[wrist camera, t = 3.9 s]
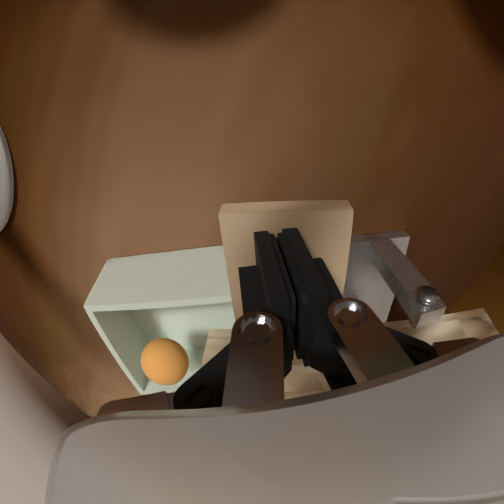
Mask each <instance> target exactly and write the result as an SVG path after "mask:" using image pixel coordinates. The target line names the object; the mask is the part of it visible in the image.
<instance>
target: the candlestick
mask: <svg viewBox="0 0 504 504" xmlns="http://www.w3.org/2000/svg"><path fill="white" fill-rule="evenodd" d="M13 197H14V176H13V167H12V160H11V155H10V151H9V147H8V144H7V141H6V138H5V135H4V133H3V130H2V128H1V126H0V231H1V230H2V229H3V228H4V227H5V225H6V223H7V221H8V219H9V216H10V213H11V210H12V205H13Z"/></svg>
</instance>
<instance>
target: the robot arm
mask: <svg viewBox="0 0 504 504" xmlns="http://www.w3.org/2000/svg"><path fill="white" fill-rule="evenodd" d="M277 243H278V244H277ZM254 245H255V257H256V265H254V266H245V267H238V271H239V280H240V290H241V299H242V308H243V315H242V316H241V317H239V318H238V319H237V320H236V321H235V323H234V325H233V328H232V333H231V340H230V343H229V344H227V345H226V346H225V347H224V348H223V349H222V350H221V351H220V352H219V353H217V354H216V355H215V356H214V357H213V358H212V359H211V360H209V361H208V362H207V363H206V364H205V365H204V366H203V367H201V368H200V369H199V370H198V371H197V372H196V373H194V374H193V375H192V376H191V377H190V378H189V379H187V380H186V381H185V382H184V383H183V384H182V385H181V386H180V387H179V388H178V389H177V390H176V391H175V392H171V393H167V392H166V391H161V392H157V393H152V394H147V395H142V396H137V397H132V398H126V399H120V400H114V401H110V402H108V403H105V404H104V405H103V406H102V407H101V408H100V409H99V411H98V413H97V416H95V417H92V418H89V419H86V420H84V421H81V422H79V423H77V424H75V425H73V426H71V427H70V428H69V429H68V430H66V431H65V433H64V434H63V435H62V437H61V438H60V440H59V442H58V444H57V447H56V449H55V452H54V455H53V459H52V462H51V466H50V471H49V476H48V482H47V489H46V497H45V504H504V333H503V334H497V335H493V336H490V337H486V338H484V339H478V338H473V337H471V338H464V339H456V340H449V341H440V342H433V344H432V345H430V344H428V343H426V342H425V341H422V340H420V339H417V338H415V337H412V336H409V335H407V334H404V333H402V332H399V331H397V330H394V329H392V328H389V327H386V326H385V325H384V324H383V323H382V322H381V320H380V319H379V318H378V316H377V315H376V314H375V313H374V311H373V310H372V309H371V308H370V307H369V306H368V305H367V304H366V303H365V302H363V301H361V300H358V299H355V298H343V296H342V294H341V292H340V291H339V289H338V287H337V285H336V283H335V281H334V279H333V277H332V275H331V273H330V272H329V270H328V268H327V266H326V264H325V262H324V260H323V259H322V258H321V257H318V258H312V256H311V254H310V252H309V250H308V248H307V246H306V244H305V242H304V240H303V238H302V236H301V234H300V232H299V231H298V229H297V227H295V228H286V229H282V233H278V234H277V241H276V238H275V235H274V234H269V232H268V231H259V232H254ZM294 350H295V354H296V358H297V360H299V359H302V361H303V364H304V367H308V366H310V367H311V368H313V369H315V370H317V371H318V376H319V379H320V381H321V383H322V385H323V387H324V389H325V391H326V392H322V393H317V394H312V395H307V396H301V397H296V398H290V399H284V379H285V377H286V376H287V375H288V374H289V373H290V372H291V370H292V361H293V357H294Z"/></svg>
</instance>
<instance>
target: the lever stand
mask: <svg viewBox="0 0 504 504" xmlns="http://www.w3.org/2000/svg"><path fill="white" fill-rule="evenodd" d="M409 238H410V236H409V235H408V234H407V233H406V232H405V231H404V230H403V231H393V232H384V233H374V234H364V235H354V236H351V241H350V250H349V257H348V265H347V272H346V279H345V285H344V291H343V298H355V299H358V300H361V301H363V302H365V303H366V304H367V305H368V306H369V307H370V308H371V309H372V310H373V311H374V313H375V314H376V315H377V316H378V318H379V319H380V320H381V322H382V323H383V322H386V320H387V317H388V314H389V311H390V308H391V305H392V302H393V299H394V296H395V297H396V299H397V300H398V302H399V303H400V305H401V306H402V308H403V309H404V311H405V313H406V314H407V316H408V317H409V319H410V321H411V322H412V324H413V325H414V327H415V329H416V328H420V327H423V326H426V325H430V324H433V323H436V322H439V321H440V320H441V318H442V316H443V314H444V312H445V309H446V306H445V304H444V303H443V302H442V300H441V299H440V298H439V293H438V291H437V290H436V289H435V288H433V287H431V286H430V285H429V284H428V282H427V281H426V280H425V279H424V277H423V276H422V275H421V274H420V273H419V271H418V270H417V269H416V268H415V267H414V265H413V264H412V263H411V262H410V261H409V260H408V258H407V257H406V256H405V255H406V251H407V247H408V243H409Z"/></svg>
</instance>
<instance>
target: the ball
mask: <svg viewBox="0 0 504 504" xmlns="http://www.w3.org/2000/svg"><path fill="white" fill-rule="evenodd" d="M141 367H142V369H143V372H144V373H145V375H146V376H147V377H148V378H149V379H150V380H151V381H153V382H155V383H157V384H159V385H173V384H176V383H178V382H179V381H181V380H182V379H183V378H184V376H185V375H186V373H187V371H188V367H189V359H188V355H187V353H186V351H185V349H184V348H183V347H182V346H181V345H180V344H179V343H178V342H176V341H174V340H172V339H169V338H158V339H155V340H152V341H151V342H149V343H148V344H147V345H146V346H145V348H144V349H143V351H142V354H141Z"/></svg>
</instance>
